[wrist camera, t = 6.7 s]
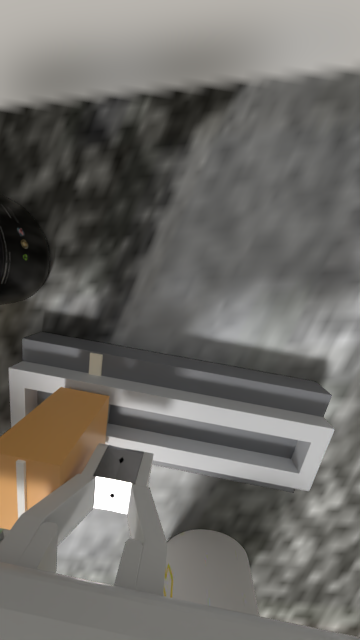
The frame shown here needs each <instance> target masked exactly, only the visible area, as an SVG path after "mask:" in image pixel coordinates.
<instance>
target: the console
mask: <svg viewBox="0 0 360 640" xmlns="http://www.w3.org/2000/svg"><path fill="white" fill-rule="evenodd" d="M22 351H23V361H22V362H20V363H17V364H15V365H13V366H11V367H9V389H10V412H11V428H12V427H13V426H14V425H15V424H17V423H18V422H19V421H20V420H21V419H23V418H24V417H25V416H26V415H27V414H29V413H30V412H31V411H32V410H34V409H35V408H36V407H37V406H38V405H40V404H41V403H42V402H43V401H44V400H46V399H47V398H48V397H49V396H50V395H52V394H53V393H54V392H55V391H57V390H58V389H59V388H60V387H64V388H70V389H75V390H80V391H85V392H91V393H96V394H101V395H106V396H109V404H110V415H109V422H108V423H107V429H106V440H105V444H106V445H111V446H116V447H120V448H125V449H132V450H137V451H143V452H147V453H153V454H154V456H153V462H152V465H156V466H161V467H166V468H171V469H176V470H181V471H186V472H191V473H196V474H202V475H207V476H212V477H217V478H222V479H227V480H232V481H237V482H242V483H247V484H252V485H257V486H262V487H267V488H272V489H277V490H282V491H287V492H292V493H294V491H295V489H301V490H306V491H309V490H310V488H311V485H312V483H313V481H314V478H315V476H316V473H317V471H318V469H319V466H320V464H321V461H322V459H323V457H324V454H325V452H326V449H327V447H328V445H329V442H330V440H331V437H332V435H333V432H334V430H335V429H334V428H333V427H332V426H331V425H330V424H329V423H328V421H327V420H326V419H325V418H324V414H325V412H326V409H327V407H328V404H329V402H330V399H331V396H332V395H331V394H330V393H329V392H327V391H326V390H325V389H324V388H323V387H322V386H320V385H319V384H318V383H317V382H315V381H310V380H304V379H299V378H293V377H288V376H282V375H277V374H271V373H266V372H260V371H255V370H249V369H244V368H238V367H233V366H227V365H222V364H216V363H211V362H205V361H200V360H194V359H189V358H183V357H178V356H172V355H167V354H161V353H156V352H150V351H145V350H139V349H134V348H128V347H123V346H117V345H112V344H106V343H101V342H95V341H90V340H84V339H79V338H73V337H68V336H62V335H57V334H51V333H46V332H39V333H36V334H33V335H31V336H28V337H25V338H22Z"/></svg>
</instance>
